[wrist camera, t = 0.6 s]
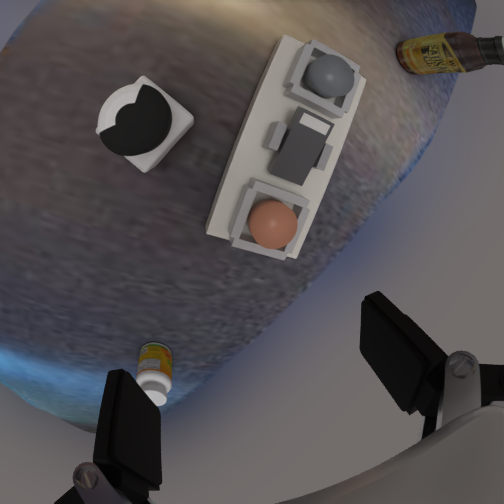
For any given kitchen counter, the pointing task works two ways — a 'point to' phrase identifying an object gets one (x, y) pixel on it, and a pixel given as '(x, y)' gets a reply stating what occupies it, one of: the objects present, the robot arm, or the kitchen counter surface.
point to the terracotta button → (272, 223)
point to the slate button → (329, 76)
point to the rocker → (300, 146)
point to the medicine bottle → (142, 123)
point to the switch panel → (267, 143)
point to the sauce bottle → (450, 53)
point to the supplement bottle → (155, 371)
